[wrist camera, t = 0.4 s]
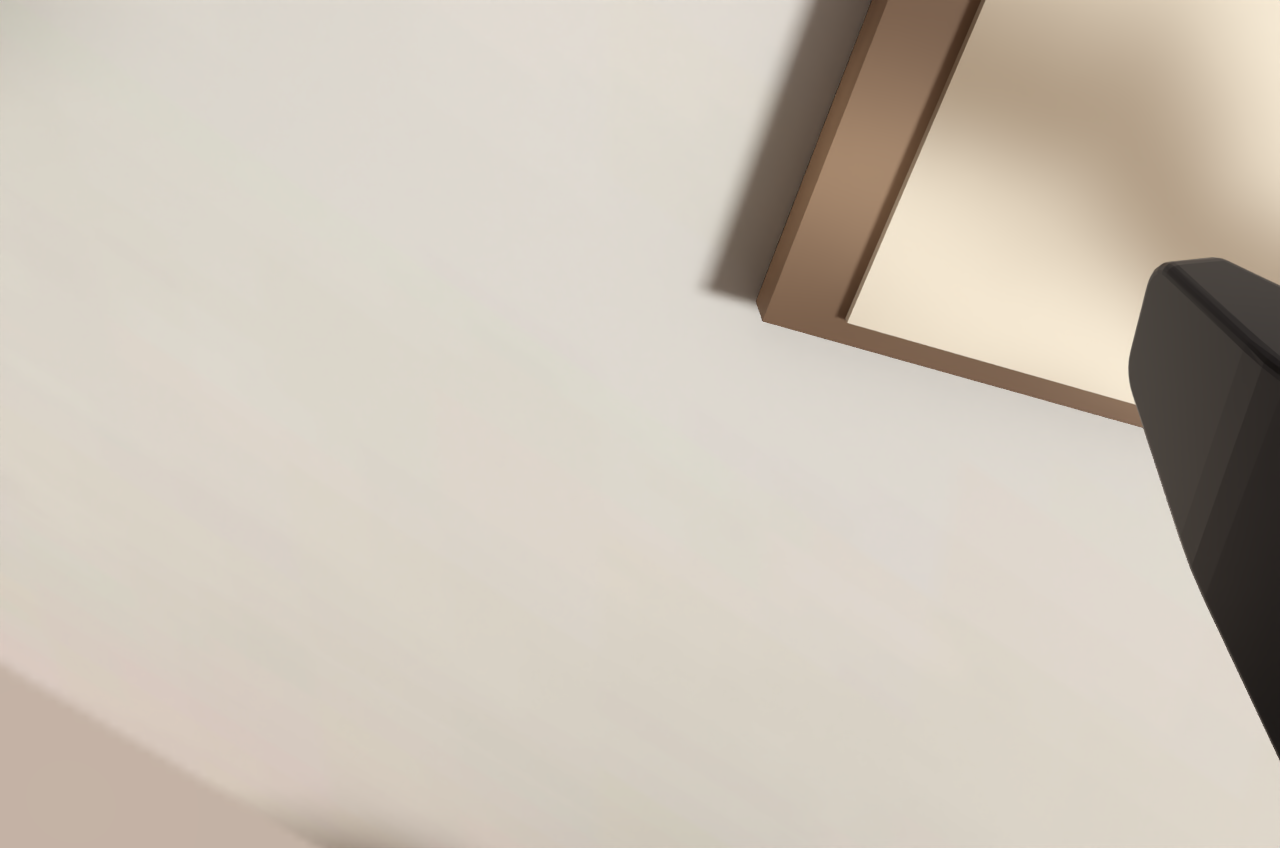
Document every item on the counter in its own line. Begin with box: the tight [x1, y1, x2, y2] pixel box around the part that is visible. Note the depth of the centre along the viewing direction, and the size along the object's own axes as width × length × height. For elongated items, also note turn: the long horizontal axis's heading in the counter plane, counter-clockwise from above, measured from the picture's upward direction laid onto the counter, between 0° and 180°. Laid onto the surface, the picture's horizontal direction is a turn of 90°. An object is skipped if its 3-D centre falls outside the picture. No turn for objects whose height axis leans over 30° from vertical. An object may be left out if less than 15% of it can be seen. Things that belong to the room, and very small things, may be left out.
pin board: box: [756, 0, 1280, 428], centre depth 20 cm, size 11×11×4 cm
